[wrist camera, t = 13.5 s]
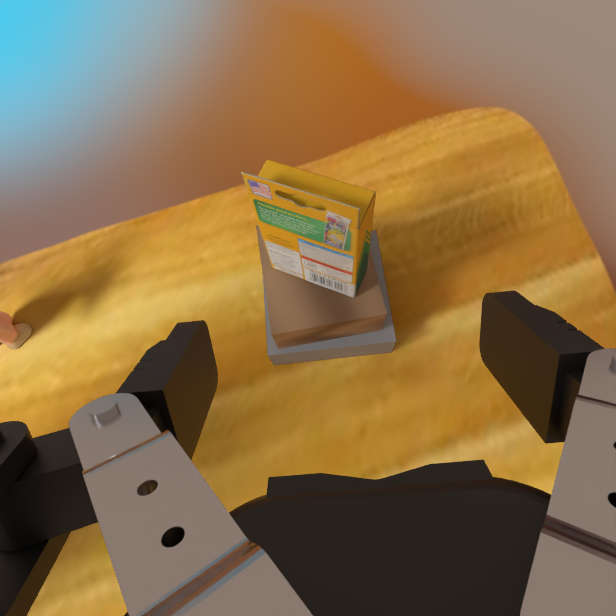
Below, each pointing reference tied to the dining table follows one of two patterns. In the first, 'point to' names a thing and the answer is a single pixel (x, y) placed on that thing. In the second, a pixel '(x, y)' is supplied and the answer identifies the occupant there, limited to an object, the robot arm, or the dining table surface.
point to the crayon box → (313, 225)
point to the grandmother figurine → (13, 331)
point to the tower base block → (345, 345)
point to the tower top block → (318, 306)
